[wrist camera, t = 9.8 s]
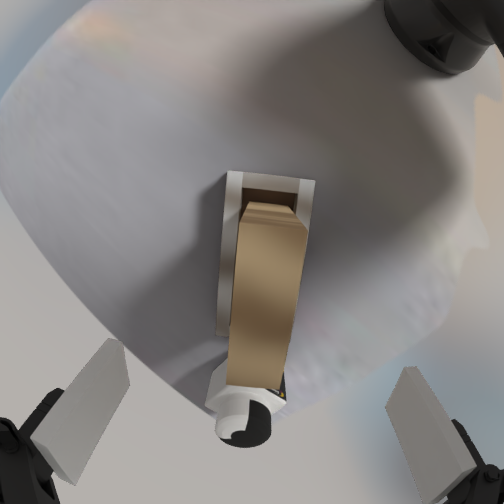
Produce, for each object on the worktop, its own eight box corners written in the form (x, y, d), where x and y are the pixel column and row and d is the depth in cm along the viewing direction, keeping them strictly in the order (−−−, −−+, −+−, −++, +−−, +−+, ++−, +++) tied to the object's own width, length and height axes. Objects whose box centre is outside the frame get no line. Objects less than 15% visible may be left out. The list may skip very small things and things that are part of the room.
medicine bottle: (284, 368, 37) (290, 434, 25) (251, 396, 38) (247, 460, 27) (243, 340, 36) (236, 406, 24) (211, 371, 37) (195, 435, 26)
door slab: (249, 201, 30) (239, 222, 16) (287, 205, 30) (308, 230, 16) (239, 305, 33) (225, 384, 20) (273, 308, 33) (279, 389, 20)
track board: (229, 170, 30) (225, 170, 27) (311, 180, 30) (317, 180, 27) (217, 320, 35) (213, 335, 32) (289, 327, 35) (291, 343, 31)
